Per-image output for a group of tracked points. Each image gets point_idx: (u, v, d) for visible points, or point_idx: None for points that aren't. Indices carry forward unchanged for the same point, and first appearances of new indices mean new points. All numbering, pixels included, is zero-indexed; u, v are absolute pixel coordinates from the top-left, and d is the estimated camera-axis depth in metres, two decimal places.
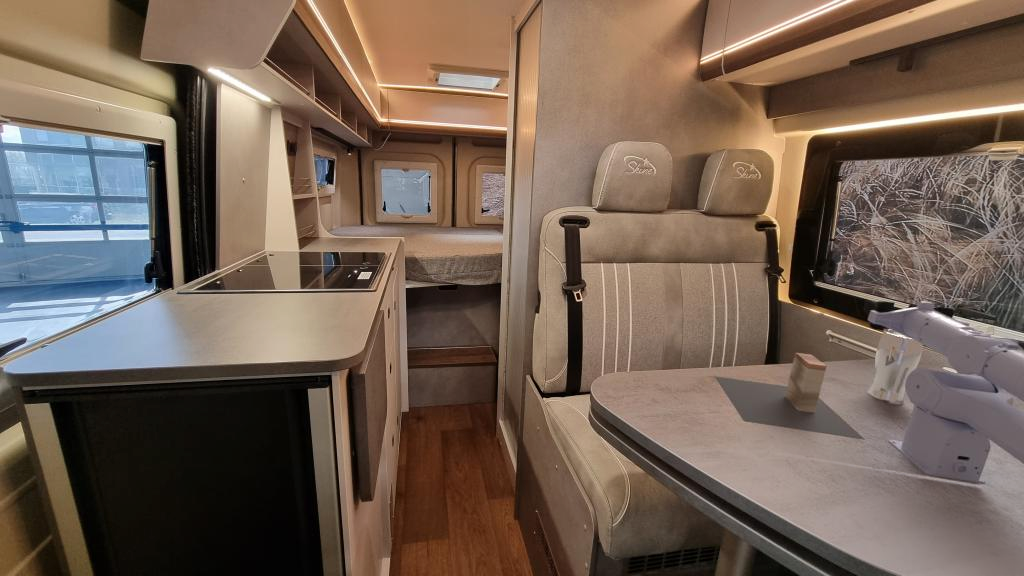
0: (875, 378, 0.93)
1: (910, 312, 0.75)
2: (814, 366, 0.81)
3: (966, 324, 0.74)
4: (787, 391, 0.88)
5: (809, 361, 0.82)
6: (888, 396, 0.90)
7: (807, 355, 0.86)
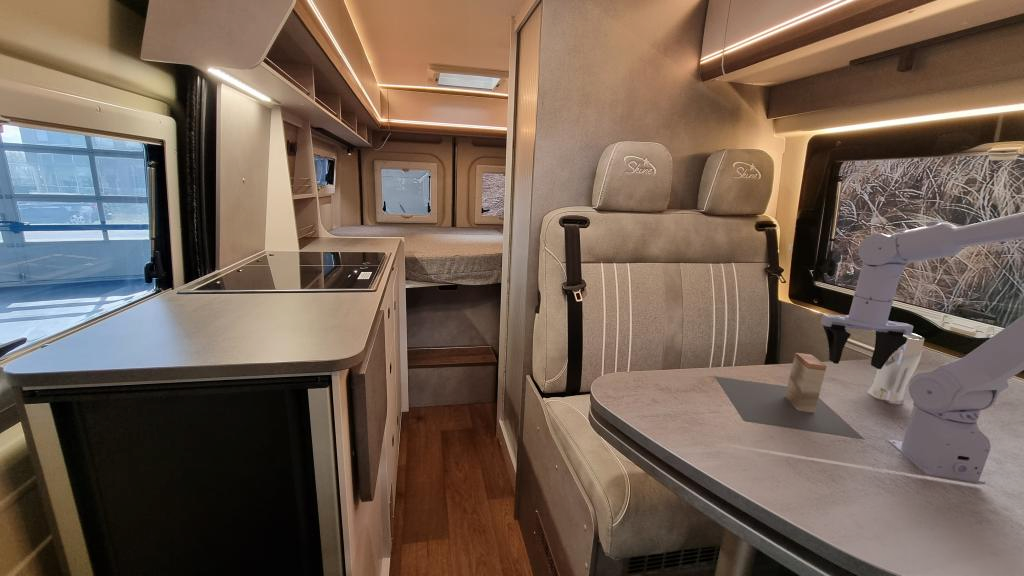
0: (875, 378, 0.93)
1: (848, 315, 0.83)
2: (814, 366, 0.81)
3: None
4: (787, 391, 0.88)
5: (809, 361, 0.82)
6: (888, 396, 0.90)
7: (807, 355, 0.86)
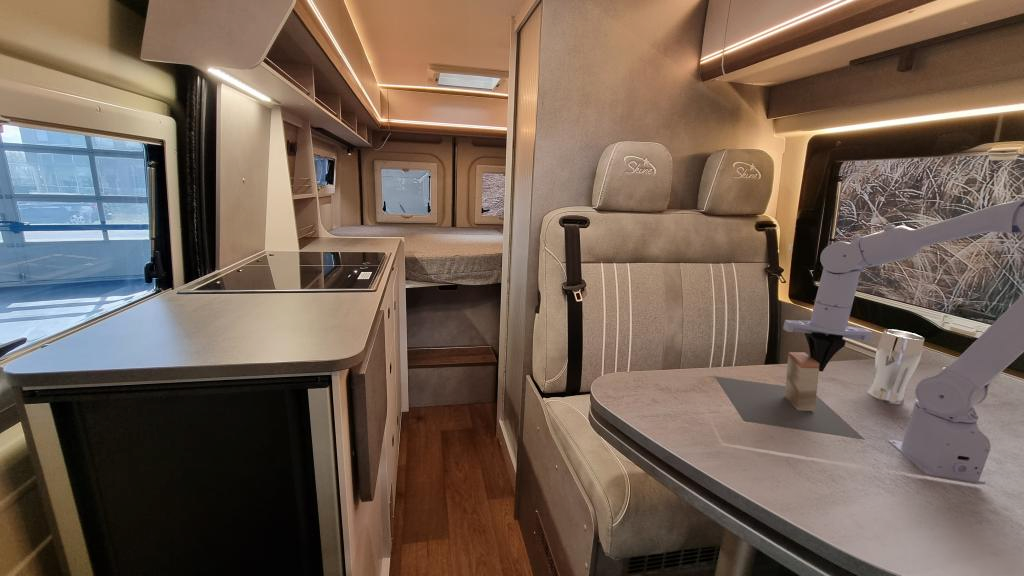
0: (875, 378, 0.93)
1: (810, 321, 0.84)
2: (807, 365, 0.81)
3: None
4: (786, 391, 0.88)
5: (802, 360, 0.83)
6: (888, 396, 0.90)
7: (800, 353, 0.86)
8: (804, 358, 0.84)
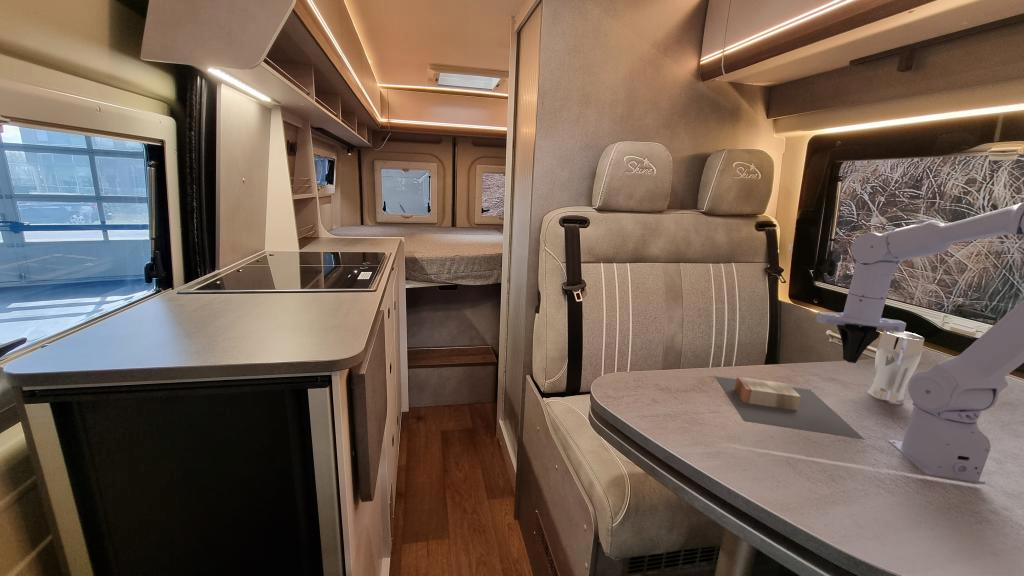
0: (875, 378, 0.93)
1: (843, 313, 0.84)
2: (746, 398, 0.85)
3: None
4: None
5: (741, 396, 0.86)
6: (888, 396, 0.90)
7: (737, 383, 0.90)
8: (740, 390, 0.87)
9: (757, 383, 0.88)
